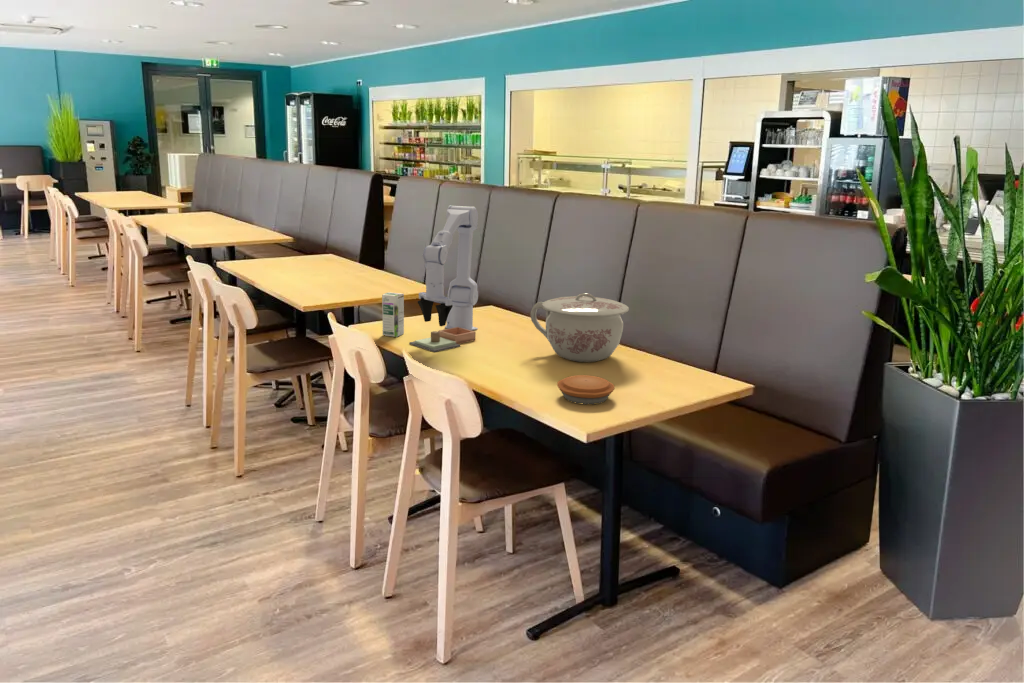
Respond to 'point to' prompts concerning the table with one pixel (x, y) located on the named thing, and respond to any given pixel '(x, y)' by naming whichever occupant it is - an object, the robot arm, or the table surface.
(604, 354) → the chamber pot
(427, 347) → the mat
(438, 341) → the lid
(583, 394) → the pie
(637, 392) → the table surface
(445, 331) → the dish
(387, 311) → the syrup box
